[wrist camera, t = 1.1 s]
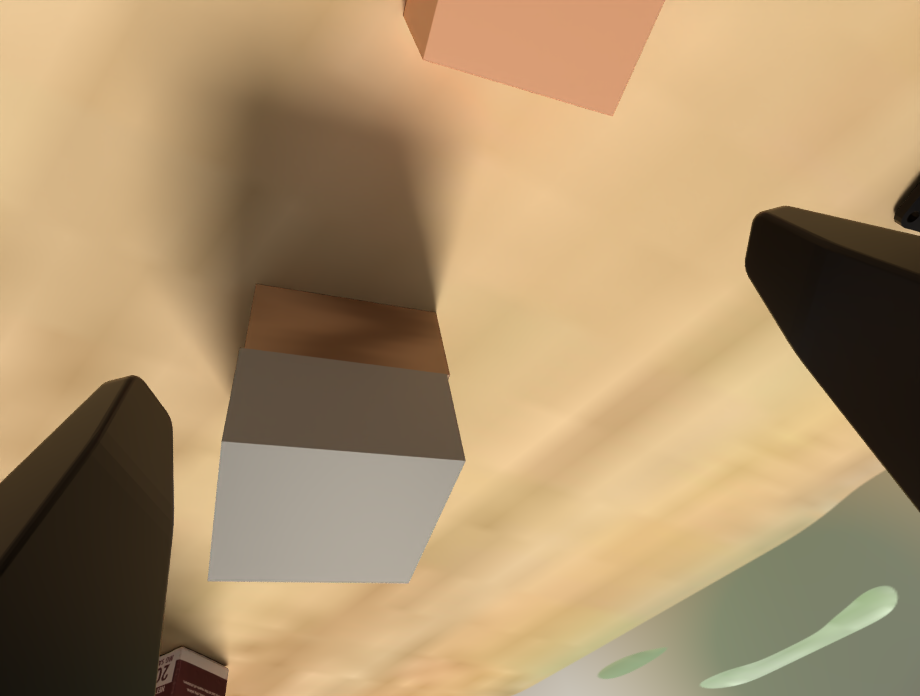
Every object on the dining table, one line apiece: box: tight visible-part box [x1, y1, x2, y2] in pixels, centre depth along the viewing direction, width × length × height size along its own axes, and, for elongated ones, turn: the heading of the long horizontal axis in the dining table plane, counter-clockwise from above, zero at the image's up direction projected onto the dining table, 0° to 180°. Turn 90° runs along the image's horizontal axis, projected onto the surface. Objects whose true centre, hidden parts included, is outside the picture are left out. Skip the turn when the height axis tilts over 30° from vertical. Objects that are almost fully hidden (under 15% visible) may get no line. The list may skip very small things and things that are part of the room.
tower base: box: [244, 284, 450, 379], centre depth 24 cm, size 7×7×4 cm
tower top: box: [208, 348, 465, 583], centre depth 20 cm, size 7×7×4 cm
